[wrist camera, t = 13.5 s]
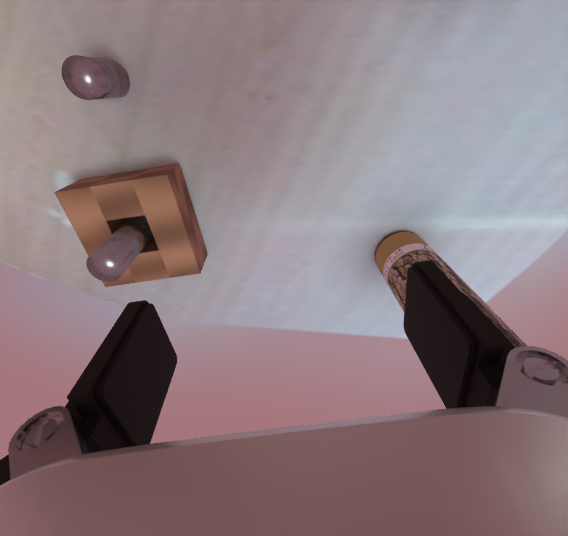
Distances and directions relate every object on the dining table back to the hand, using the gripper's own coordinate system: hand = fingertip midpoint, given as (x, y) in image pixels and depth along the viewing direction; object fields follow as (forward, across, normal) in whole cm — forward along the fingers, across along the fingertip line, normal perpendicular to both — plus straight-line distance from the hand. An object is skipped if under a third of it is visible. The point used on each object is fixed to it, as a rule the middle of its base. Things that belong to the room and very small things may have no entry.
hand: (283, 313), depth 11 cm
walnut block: (+28, +17, +5) cm, 33 cm away
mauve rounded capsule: (+28, +15, -10) cm, 34 cm away
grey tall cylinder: (+28, +17, +5) cm, 33 cm away
